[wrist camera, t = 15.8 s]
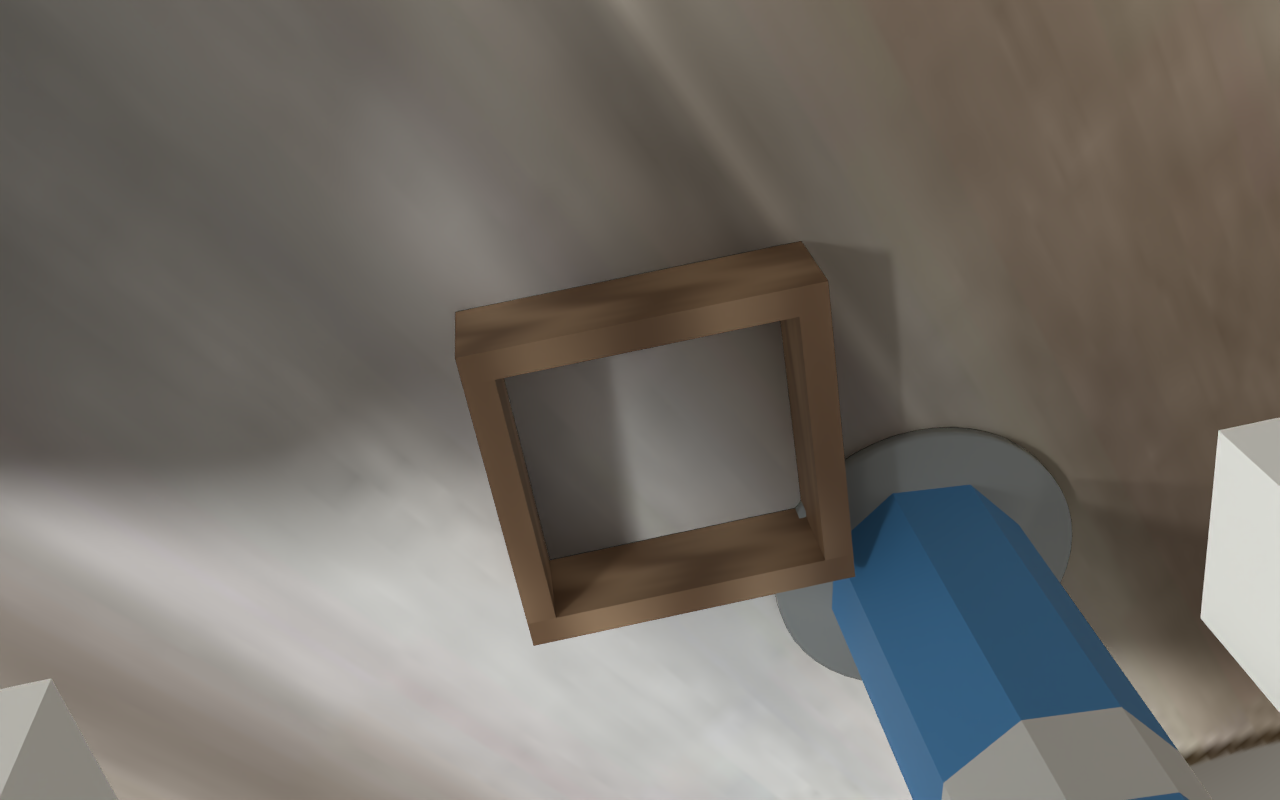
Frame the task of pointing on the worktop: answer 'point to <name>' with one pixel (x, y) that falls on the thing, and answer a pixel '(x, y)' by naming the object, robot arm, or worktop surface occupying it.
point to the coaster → (922, 466)
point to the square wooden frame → (639, 319)
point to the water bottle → (992, 664)
